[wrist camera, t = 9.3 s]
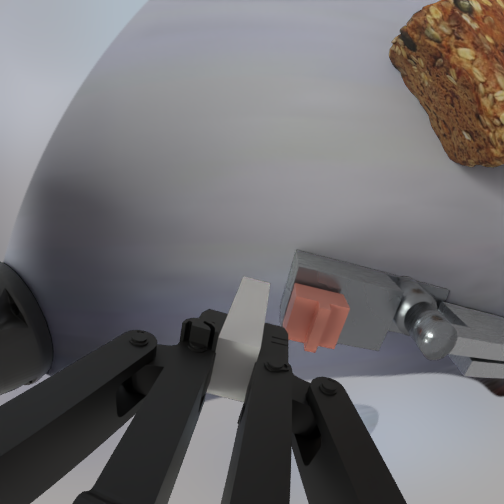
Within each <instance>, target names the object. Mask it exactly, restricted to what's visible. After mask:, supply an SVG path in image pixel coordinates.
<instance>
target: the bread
mask: <svg viewBox="0 0 504 504" xmlns="http://www.w3.org/2000/svg"><path fill="white" fill-rule="evenodd" d="M400 33H401V34H400V35H398V36H397V37H395V38H394V40H393V41H392V42H391V43H393V45H392V47H391V48H390V51H389V58H390V60H391V62H392V64H393V65H394V67H395V68H396V69H398V70H399V71H400V72H401V76H402V78H403V80H404V83H405V85H406V86H407V87H408V89H409V90H410V91H411V93H412V94H414V95H415V96H416V97H417V98H418V99H419V102H420V104H421V105H422V106H423V108H424V109H425V110H426V112H427V114H428V115H429V119H430V122H431V126H432V128H433V130H434V131H435V133H436V135H437V136H438V138H439V140H440V141H441V143H442V146H443V148H444V150H445V152H446V153H447V154H448V156H449V158H450V159H451V160H453V161H454V162H456V163H459V164H461V165H464V166H469V167H474V166H475V165H482V166H485V167H493V168H494V167H497V166H500V165H502V164H504V0H440V1H439V2H437V3H434V4H430V5H427V6H425V7H423V8H422V10H420V11H418V12H417V13H415V14H414V15H413V16H412V18H411V19H410V20H409V21H408V22H407V26H404V27H402V28H401V29H400Z"/></svg>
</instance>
